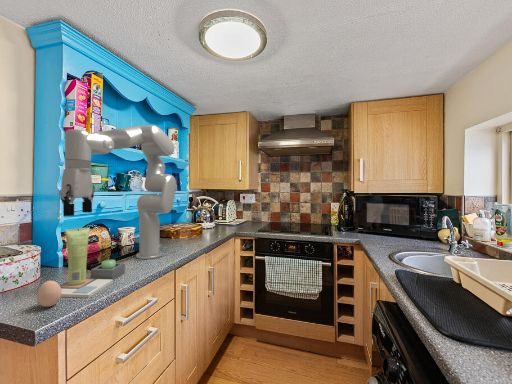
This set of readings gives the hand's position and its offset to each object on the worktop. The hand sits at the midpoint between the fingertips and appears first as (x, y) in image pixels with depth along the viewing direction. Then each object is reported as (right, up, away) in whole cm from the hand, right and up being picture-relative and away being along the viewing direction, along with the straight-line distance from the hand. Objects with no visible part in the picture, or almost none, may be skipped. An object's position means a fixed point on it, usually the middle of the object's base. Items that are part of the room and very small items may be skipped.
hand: (78, 213), depth 89 cm
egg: (+1, -27, -14) cm, 30 cm away
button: (+5, -24, +10) cm, 26 cm away
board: (+2, -26, -2) cm, 26 cm away
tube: (-1, -25, +1) cm, 25 cm away
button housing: (+5, -26, +10) cm, 28 cm away
